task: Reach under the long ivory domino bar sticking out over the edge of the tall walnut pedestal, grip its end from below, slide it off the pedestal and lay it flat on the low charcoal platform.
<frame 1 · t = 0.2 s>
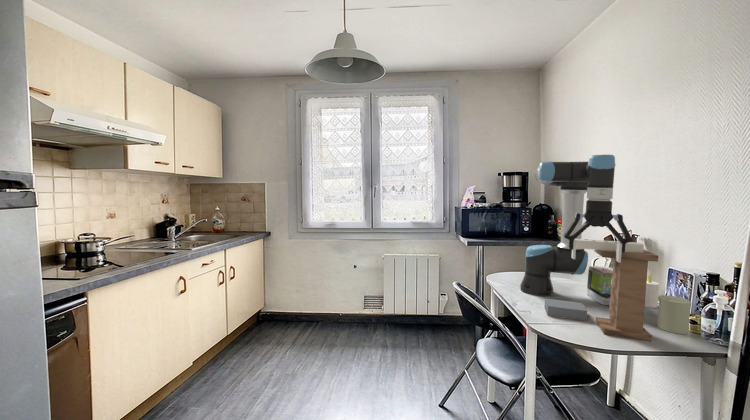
hand: (595, 260, 120), 27 cm above the table, tool pointing down, fingers open, 13 cm apart
can: (672, 329, 129), on the table
walnut pedestal: (618, 330, 126), on the table
fruit juice: (622, 314, 142), on the table
candle: (648, 305, 154), on the table
charcoal platform: (564, 313, 142), on the table
domino bar: (605, 249, 126), point 30 cm above the table, touching walnut pedestal
tea box: (604, 300, 160), on the table
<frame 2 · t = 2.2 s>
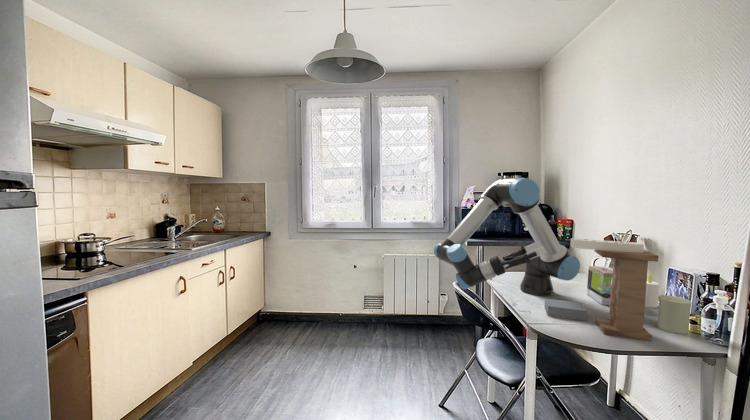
hand: (543, 246, 134), 29 cm above the table, tool pointing upward, fingers open, 13 cm apart
nothing on the table moved.
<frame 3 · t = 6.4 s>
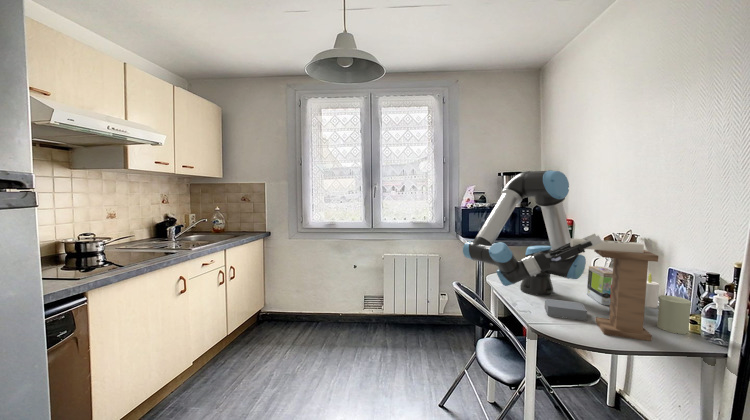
hand: (598, 237, 126), 34 cm above the table, tool pointing upward, fingers closed on domino bar, 4 cm apart
domino bar: (605, 249, 126), point 30 cm above the table, touching gripper, walnut pedestal
everything else where it was.
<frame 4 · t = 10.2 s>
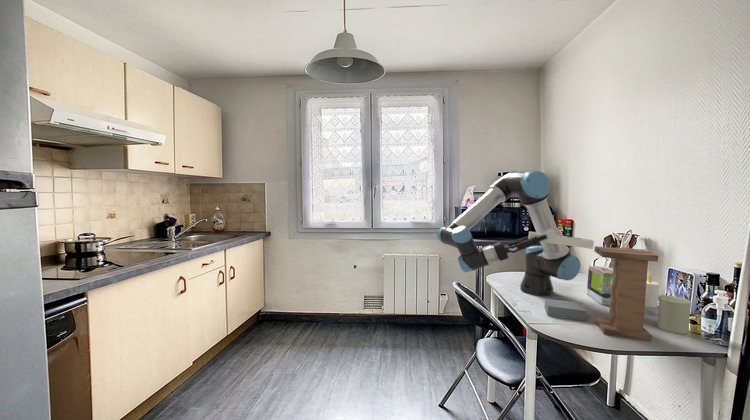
hand: (553, 232, 134), 35 cm above the table, tool pointing upward, fingers closed on domino bar, 4 cm apart
domino bar: (559, 243, 133), point 31 cm above the table, touching gripper
everything else where it was.
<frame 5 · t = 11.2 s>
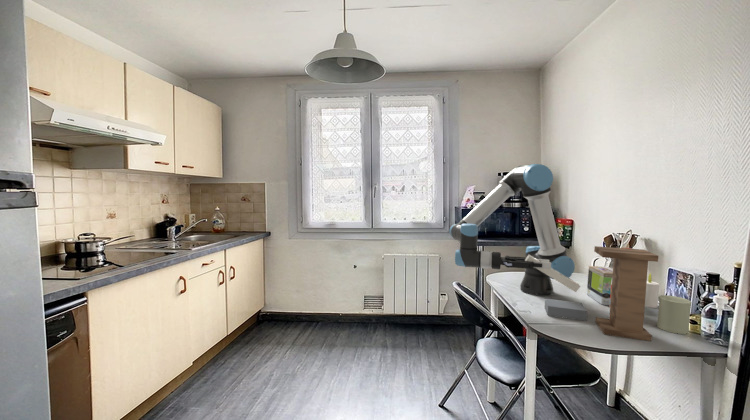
hand: (549, 264, 142), 20 cm above the table, tool horizontal, fingers closed on domino bar, 4 cm apart
domino bar: (549, 275, 143), point 16 cm above the table, tilted 29°, touching gripper
everything else where it was.
when the fingers open (7 cm above the table, at t = 14.1 s): domino bar stays where it is, resting on charcoal platform.
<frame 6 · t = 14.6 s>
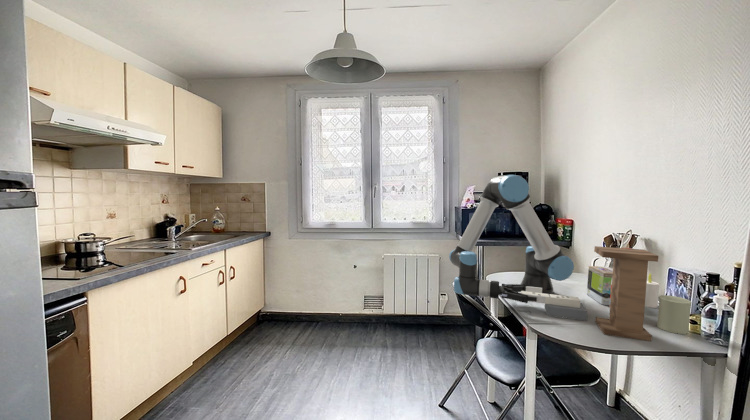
hand: (543, 295, 144), 7 cm above the table, tool horizontal, fingers open, 11 cm apart
domino bar: (549, 302, 144), point 4 cm above the table, touching charcoal platform
everything else where it was.
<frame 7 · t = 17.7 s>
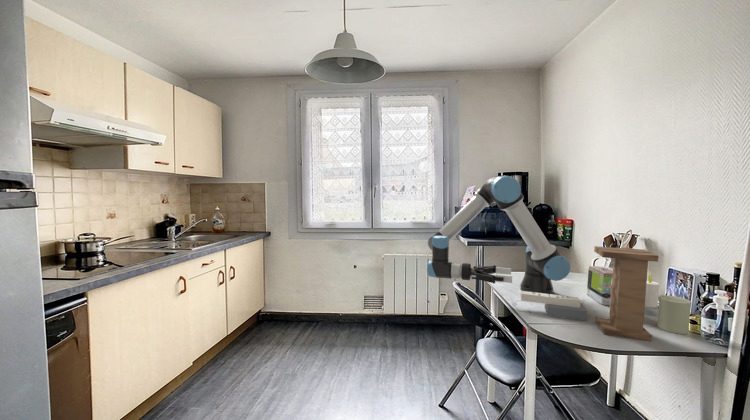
hand: (511, 275, 148), 14 cm above the table, tool horizontal, fingers open, 13 cm apart
nothing on the table moved.
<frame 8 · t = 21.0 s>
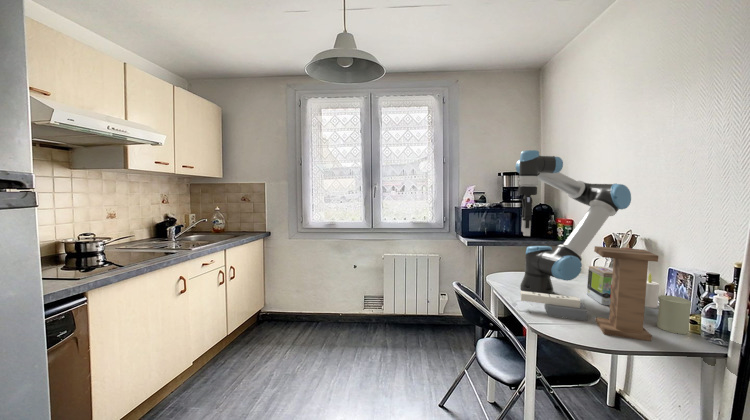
hand: (525, 233, 151), 32 cm above the table, tool pointing down, fingers open, 13 cm apart
nothing on the table moved.
at the end: domino bar inside the target area on the charcoal platform (2.5 cm from its centre), point 4.0 cm above the charcoal platform's base; domino bar tilted 0°; the gripper is holding nothing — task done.
